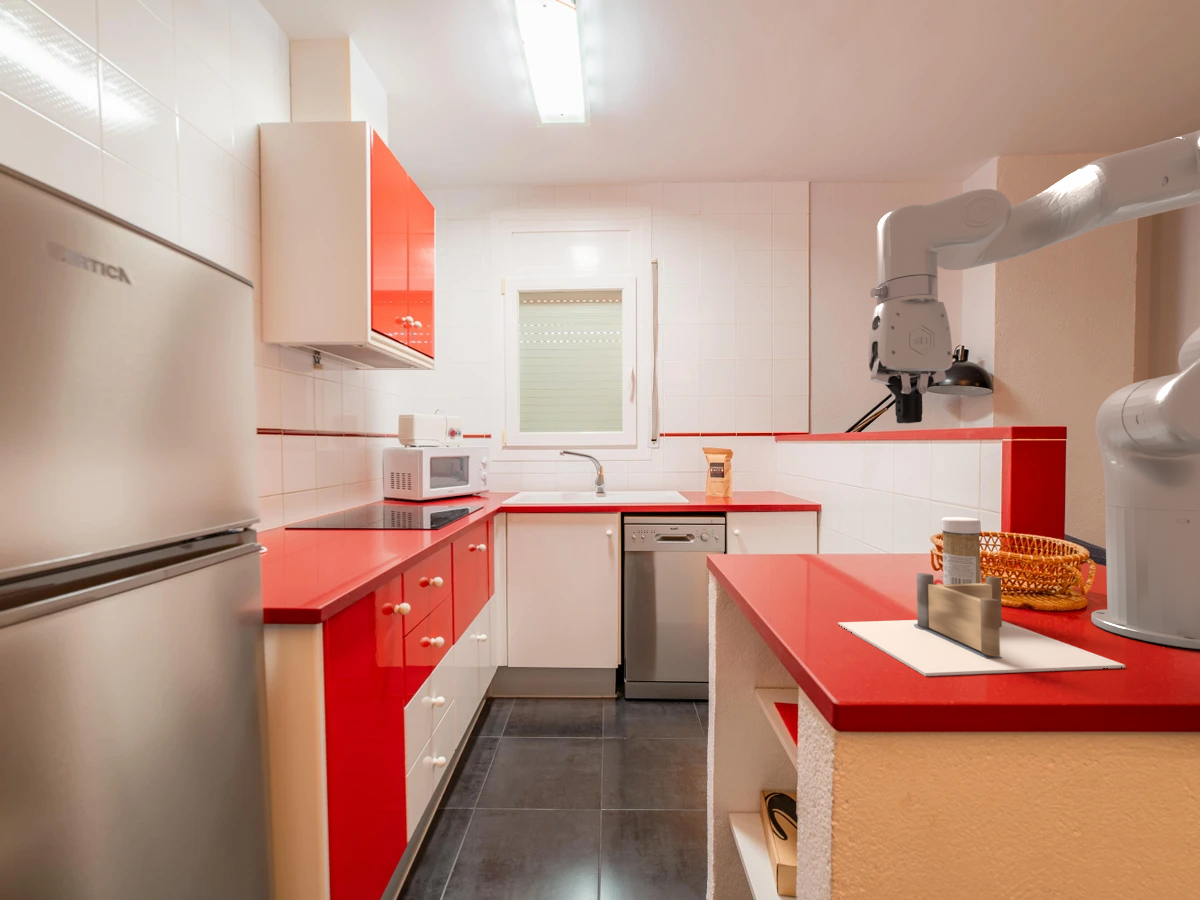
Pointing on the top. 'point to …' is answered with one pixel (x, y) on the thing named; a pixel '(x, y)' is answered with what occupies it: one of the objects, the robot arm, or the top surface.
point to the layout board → (974, 650)
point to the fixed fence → (976, 589)
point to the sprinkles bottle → (961, 550)
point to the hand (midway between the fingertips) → (909, 422)
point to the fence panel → (965, 618)
